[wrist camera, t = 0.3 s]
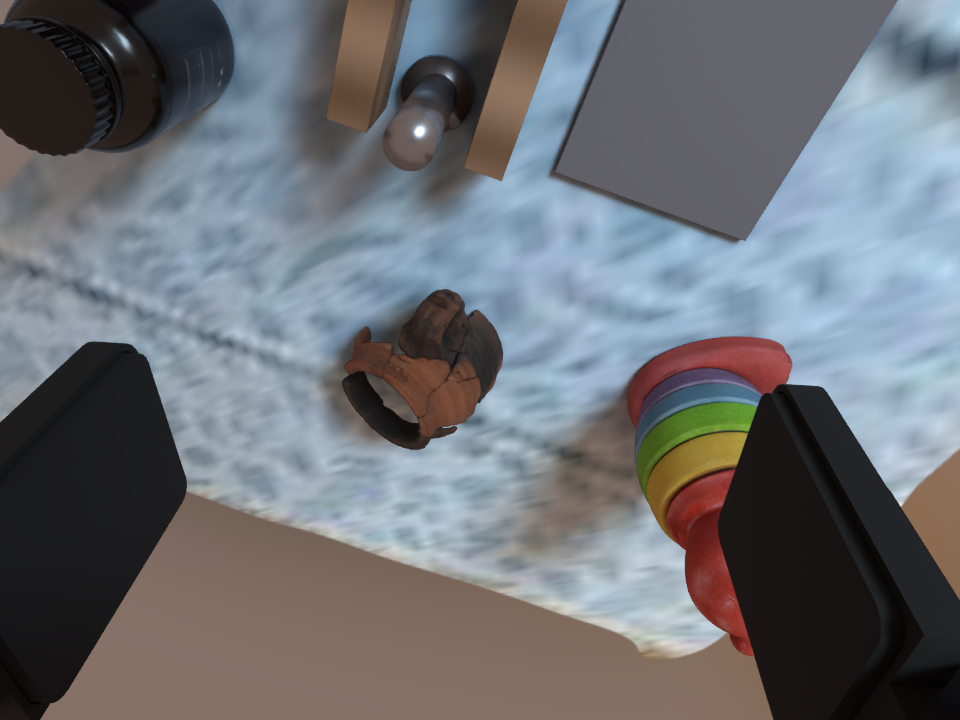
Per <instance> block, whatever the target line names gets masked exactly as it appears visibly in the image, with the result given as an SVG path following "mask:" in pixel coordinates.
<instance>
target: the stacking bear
mask: <svg viewBox="0 0 960 720" xmlns="http://www.w3.org/2000/svg"><path fill="white" fill-rule="evenodd" d="M791 369H792V361H791V358H790V356H789V355H788V354H787V353H786V352H785V349H784V347H783V346H782V345H781V344H779V343H778V342H775V341H773V340H769V339H762V338H755V337H720V338H712V339H706V340H701V341H697V342H693V343H689V344H686V345H683V346H680V347H677V348H674V349H672V350H669V351H667V352H665V353H663V354H661V355H659V356H657V357H656V358H654V359H653V360H651V361H650V362H649V363H648V364H647V365H646V366H644V367H643V368H642V370H641V371H640V372H639V373H638V374H637V376H636V377H635V379H634V380H633V383H632V385H631V387H630V390H629V394H628V410H629V415H630V417H631V420H632V422H633V424H634V426H635V427H636V429H637V433H636V438H635V464H636V469H637V475H638V479H639V482H640V485H641V488H642V490H643V493H644V495H645V498H646V500H647V502H648V503H649V505H650V507H651V510H652V512H653V514H654V516H655V518H656V520H657V522H658V523H659V525H660V527H661V528H662V530H663V531H664V532H665V533H666V535H667V536H668V537H669V538H670V539H672V540H673V541H674V542H676V543H677V544H679V545H680V546H681V547H682V548H683V549H685V550H686V555H685V577H686V584H687V588H688V592H689V594H690V596H691V599H692V601H693V603H694V604H695V606H696V607H697V609H698V610H699V611H700V612H701V613H702V614H703V615H704V616H705V617H706V618H707V619H708V620H709V621H710V622H711V623H712V624H714V625H715V626H717V627H718V628H720V629H722V630H723V631H725V632H728V633H729V634H730V639H731V642H732V643H733V646H734V647H735V648H736V649H737V650H738V651H739V652H741V653H743V654H745V655H748V656H754V654H753V650H752V647H751V644H750V640H749V637H748V634H747V630H746V627H745V624H744V621H743V617H742V614H741V611H740V607H739V604H738V601H737V598H736V594H735V591H734V588H733V584H732V581H731V578H730V574H729V571H728V568H727V565H726V561H725V558H724V555H723V551H722V548H721V545H720V541H719V537H718V519H719V515H720V512H721V509H722V506H723V504H724V501H725V498H726V495H727V492H728V489H729V486H730V484H731V481H732V478H733V475H734V472H735V469H736V466H737V463H738V461H739V458H740V455H741V452H742V449H743V446H744V443H745V440H746V438H747V435H748V432H749V429H750V426H751V423H752V420H753V417H754V415H755V412H756V409H757V406H758V403H759V400H760V398H761V396H762V395H763V394H765V393H773V391H774V389H775V388H776V387H777V386H778V385H780V384H786V383H787V381H788V379H789V374H790V371H791Z"/></svg>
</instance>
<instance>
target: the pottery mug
mask: <svg viewBox="0 0 960 720" xmlns="http://www.w3.org/2000/svg"><path fill="white" fill-rule="evenodd" d="M464 307H465V303H464V301H463V300H462V299H461V297H460V295H459V294H458V293H455V292H452V291H451V290H448V289H443V290H437V291H435V292H433V293H431V294H430V295H429V296H428V297H427V298H426V299H425V300H424V301H423V302H422V303H421V305H420V306H419V307H418V309H417V311H416V312H415V314H414V316H413V317H412V318H411V319H410V320H409V321H408V322H407V323H405V324H404V325H403V327H402V331H401V334H400V337H399V347H400V348H401V350H402V351H404V352H405V354H403V355H398V354H394V345H393V344H392V343H378V342H370V341H371V338H372V336H371V332H370V329H369V327H368V326H366V327H365V328H364V329H363V330H362V331H360V334H359V336H358V337H357V338H356V340H355V345H354V347H353V352H352V357H351V358H352V359H351V360H349V361H348V362H347V363H346V364H345V365H344V369H345V370H346V371H347V373H348V374H349V375H348V376H347V377H346V378H344V379H343V381H342V386H343V389H344V391H345V394H346V395H347V397H348V399H349V401H350V402H351V404H352V406H353V407H354V409H355V410H356V411H357V412H358V413H359V415H360V416H361V417H363V419H364V420H365V421H366V422H367V423H368V424H369V426H370V427H371V428H373V429H374V430H375V431H376V432H377V433H379V434H380V435H381V436H383V437H384V438H385V439H387V440H388V441H390V442H392V443H394V444H396V445H398V446H401V447H403V448H407V449H411V450H413V449H415V450H419V449H423V448H425V446H426V445H427V444H428V443H429V441H430V440H431V439H433V438H440V437H444V436H446V435H449V434H453V433H454V432H455V431H456V430H457V427H456V426H453V427H450V428H442V427H449V426H451V425H458V424H460V423H464V422H465V421H466V420H467V419H468V418H469V417H470V416H471V415H472V414H474V411H475V407H476V404H477V403H480V402H481V400H482V399H483V398H484V397H485V395H486V394H487V393H488V392H489V391H490V390H491V389H492V388H493V386H494V384H495V381H496V377H497V374H498V372H499V370H500V368H501V365H502V361H503V350H502V345H501V341H500V339H499V337H498V334H497V332H496V330H495V328H494V327H493V325H492V324H491V323H490V322H489V321H488V319H487V318H486V317H485V316H484V315H483V314H482V313H481V312H480V311H479V310H475V311H474V312H473V313H472V316H471V317H469V319H467V315H466V313H465V311H464ZM449 351H454V352H457V355H456V358H455V360H454V362H453V365H452V366H450V364H449V362H448V361H447V360H446V359H445V357H447V355H448V353H449ZM365 372H368V373H370V374H373V375H375V376H377V377H379V378H382V379H384V380H385V381H386V382H387V383H388V384H389V385H391V386H392V387H393V388H394V389H395V390H396V391H397V392H398V393H399V394H400V395H401V396H402V397H403V398H404V399H405V401H406V402H407V403H408V404H409V406H410V407H411V408H412V410H413V412H414V413H415V415H416V416H417V420H418V422H419V423H410V422H408V421H406V420H403V419H401V418H400V417H399V416H398V415H397V414H396V413H395V412H394V411H392V410H391V409H389V408H387V407H385V406H384V405H383V400H382V399H381V397H380V396H379V395H378V394H377V393H376V391H375V390H374V389H373V388H372V386H371V385H370V383H369V382H368V380H367V377H366V374H365ZM419 431H420V432H419Z"/></svg>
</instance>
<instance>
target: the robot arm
mask: <svg viewBox="0 0 960 720" xmlns="http://www.w3.org/2000/svg"><path fill="white" fill-rule="evenodd" d="M186 489H187V481H186V476H185V473H184V470H183V467H182V464H181V461H180V458H179V455H178V452H177V449H176V446H175V443H174V439H173V436H172V433H171V430H170V427H169V424H168V421H167V418H166V415H165V412H164V409H163V405H162V402H161V399H160V396H159V393H158V390H157V387H156V384H155V381H154V378H153V375H152V372H151V368H150V365H149V362H148V360H147V358H146V357H145V356H144V355H142V354H138V352H137V350H136V349H135V348H134V347H133V346H132V345H130V344H125V343H109V342H88V343H86V344H85V345H83V346H82V347H81V348H80V349H79V350H78V351H76V352H75V353H74V354H73V355H72V356H71V357H70V358H69V359H68V360H67V361H66V362H65V363H64V364H63V365H61V366H60V367H59V368H58V369H57V370H56V371H55V372H54V373H53V374H52V375H51V376H50V377H49V378H47V379H46V380H45V381H44V382H43V383H42V384H41V385H40V386H39V387H38V388H37V389H36V390H35V391H33V392H32V393H31V394H30V395H29V396H28V397H27V398H26V399H25V400H24V401H23V402H22V403H21V404H20V405H18V406H17V407H16V408H15V409H14V410H13V411H12V412H11V413H10V414H9V415H8V416H7V417H6V418H4V419H3V420H2V421H1V422H0V720H40V719H41V717H42V716H43V714H44V712H45V711H46V709H47V708H48V706H49V705H50V703H54V702H56V701H58V700H60V699H61V698H62V697H63V696H64V694H65V693H66V692H67V690H68V689H69V688H70V686H71V684H72V682H73V681H74V679H75V678H76V676H77V674H78V673H79V671H80V669H81V668H82V666H83V665H84V663H85V661H86V660H87V658H88V656H89V655H90V653H91V651H92V650H93V648H94V646H95V645H96V643H97V641H98V640H99V638H100V637H101V635H102V633H103V632H104V630H105V628H106V626H107V625H108V624H109V622H110V620H111V619H112V617H113V615H114V614H115V612H116V610H117V609H118V607H119V605H120V603H121V602H122V601H123V599H124V597H125V595H126V594H127V592H128V590H129V589H130V587H131V586H132V584H133V582H134V581H135V579H136V577H137V576H138V574H139V573H140V571H141V569H142V568H143V566H144V564H145V563H146V561H147V560H148V558H149V556H150V555H151V553H152V551H153V550H154V548H155V546H156V545H157V543H158V541H159V540H160V538H161V536H162V535H163V533H164V531H165V530H166V528H167V527H168V525H169V523H170V522H171V520H172V518H173V517H174V515H175V514H176V512H177V510H178V509H179V507H180V505H181V504H182V502H183V500H184V497H185V494H186ZM718 537H719V541H720V545H721V548H722V551H723V555H724V558H725V561H726V565H727V568H728V571H729V574H730V578H731V581H732V584H733V588H734V591H735V594H736V598H737V601H738V604H739V607H740V611H741V614H742V617H743V621H744V624H745V627H746V630H747V634H748V637H749V640H750V644H751V647H752V650H753V654H754V657H755V660H756V663H757V666H758V670H759V673H760V677H761V680H762V683H763V686H764V690H765V693H766V696H767V700H768V703H769V706H770V710H771V713H772V716H773V719H774V720H960V600H959V598H958V597H957V595H956V594H955V592H954V590H953V589H952V587H951V586H950V584H949V583H948V581H947V579H946V578H945V576H944V575H943V573H942V572H941V570H940V569H939V567H938V565H937V564H936V562H935V561H934V559H933V557H932V556H931V555H930V553H929V551H928V549H927V548H926V546H925V545H924V543H923V542H922V540H921V538H920V537H919V535H918V534H917V532H916V531H915V529H914V527H913V526H912V524H911V523H910V521H909V519H908V518H907V516H906V515H905V514H904V512H903V510H902V508H901V507H900V505H899V504H898V502H897V501H896V499H895V497H894V496H893V494H892V493H891V491H890V490H889V489H888V488H887V487H886V485H885V484H884V482H883V480H882V479H881V477H880V476H879V474H878V472H877V471H876V469H875V468H874V466H873V464H872V463H871V461H870V460H869V458H868V457H867V455H866V453H865V452H864V450H863V449H862V447H861V445H860V444H859V442H858V441H857V439H856V438H855V436H854V434H853V433H852V431H851V430H850V428H849V426H848V425H847V423H846V422H845V420H844V419H843V417H842V415H841V414H840V412H839V411H838V409H837V407H836V406H835V404H834V403H833V401H832V400H831V398H830V396H829V395H828V393H827V392H826V391H825V390H824V388H822V387H819V386H806V385H790V384H780V385H778V386H777V387H776V388H775V389H774V391H773V393H765V394H763V395H762V396H761V398H760V400H759V403H758V406H757V409H756V412H755V415H754V417H753V420H752V423H751V426H750V429H749V432H748V435H747V438H746V440H745V443H744V446H743V449H742V452H741V455H740V458H739V461H738V463H737V466H736V469H735V472H734V475H733V478H732V481H731V484H730V486H729V489H728V492H727V495H726V498H725V501H724V504H723V506H722V509H721V512H720V515H719V519H718Z"/></svg>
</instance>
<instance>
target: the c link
mask: <svg viewBox="0 0 960 720" xmlns="http://www.w3.org/2000/svg"><path fill="white" fill-rule="evenodd" d="M411 1H412V0H348V4H347V9H346V15H345V20H344V25H343V31H342V36H341V42H340V47H339V52H338V58H337V63H336V68H335V74H334V79H333V85H332V90H331V95H330V101H329V106H328V111H327V117H326V119H329V120H332V121H334V122H337V123H340V124H343V125H346V126H348V127H351V128H354V129H357V130H360V131H362V132H365V133H367V131H368V130H369V129H370V128H371V126H372V125H373V124H374V122H375V121H376V120H377V119H378V117H379V116H380V115H381V114H382V112H383V111H384V110H385V108H386V106H387V102H388V98H389V93H390V89H391V85H392V81H393V77H394V72H395V68H396V64H397V60H398V56H399V51H400V47H401V43H402V39H403V35H404V30H405V26H406V22H407V18H408V14H409V9H410V5H411ZM567 1H568V0H517V1H516V5H515V8H514V11H513V14H512V17H511V20H510V23H509V26H508V29H507V32H506V35H505V39H504V42H503V45H502V48H501V51H500V54H499V57H498V60H497V63H496V66H495V69H494V73H493V76H492V79H491V82H490V85H489V88H488V91H487V94H486V97H485V100H484V103H483V107H482V110H481V113H480V116H479V119H478V122H477V125H476V128H475V131H474V134H473V137H472V141H471V144H470V148H469V151H468V155H467V158H466V161H465V165H464V168H466V169H469V170H472V171H475V172H477V173H480V174H483V175H486V176H489V177H491V178H494V179H497V180H500V181H502V179H503V176H504V173H505V170H506V168H507V165H508V162H509V160H510V157H511V154H512V151H513V149H514V146H515V143H516V140H517V138H518V135H519V132H520V129H521V127H522V124H523V121H524V118H525V116H526V113H527V110H528V107H529V105H530V102H531V99H532V96H533V94H534V91H535V88H536V86H537V83H538V80H539V77H540V75H541V72H542V69H543V66H544V64H545V61H546V58H547V55H548V53H549V50H550V47H551V44H552V42H553V39H554V36H555V33H556V31H557V28H558V25H559V22H560V20H561V17H562V14H563V12H564V9H565V6H566V3H567Z"/></svg>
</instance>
